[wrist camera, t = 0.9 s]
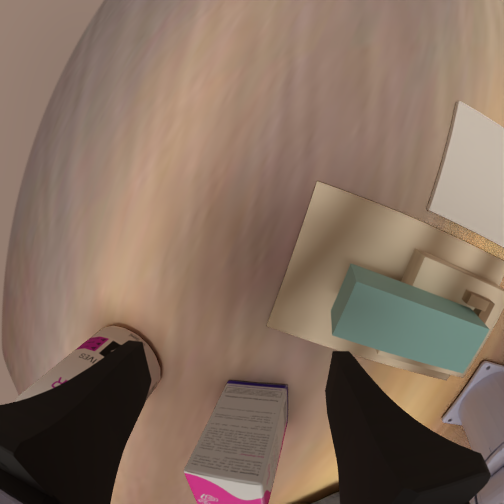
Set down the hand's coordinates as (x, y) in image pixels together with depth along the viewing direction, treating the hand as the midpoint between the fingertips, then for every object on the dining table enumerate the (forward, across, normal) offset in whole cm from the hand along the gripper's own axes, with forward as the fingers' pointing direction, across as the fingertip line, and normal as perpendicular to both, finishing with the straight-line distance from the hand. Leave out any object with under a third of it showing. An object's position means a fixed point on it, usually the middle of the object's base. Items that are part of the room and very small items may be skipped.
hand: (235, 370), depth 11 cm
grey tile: (+12, -18, -7) cm, 23 cm away
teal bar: (+9, -11, +3) cm, 14 cm away
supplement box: (+12, 0, +15) cm, 20 cm away
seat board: (+12, -11, +3) cm, 17 cm away
